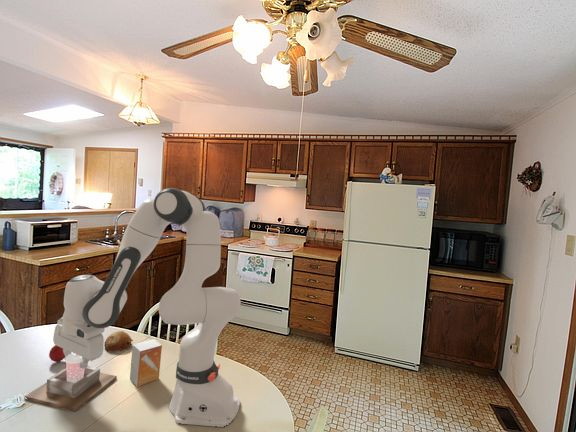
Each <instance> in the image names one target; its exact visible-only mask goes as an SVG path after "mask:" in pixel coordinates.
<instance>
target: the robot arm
mask: <svg viewBox="0 0 576 432" xmlns="http://www.w3.org/2000/svg"><path fill="white" fill-rule="evenodd" d="M170 224H175V225H178V226H183V227H184V228H185V232H186V242H185V243H186V245H185V258H184V264H183V265H184V266H183V270H182V273H181V275H180V277H179V278H178V280H177V282H176V283H175V284H174V285H173V287H171V288H170V289H169V290H168V291H167V292H165V293H164V294H163V295H162V296H161V298H160V300H159V302H158V303H159V304H158V314H159V317H160V319H161V321H163V323H164V324H166V325H174V326H175V325H176V326H186V325H187V326H188V325H196V324H197V325H196V326H195V327H194V328H193V329H191V330H190V331H188V332H186V334H185V335H183V337H182V339H181V340H180V343H179V355H178V361H177V363H176V369H175V370H176V371H175V379H176V381H175V386H174V391H173V394H172V396H171V397H172V398H171V400H170V402H169V411H170V412H171V413H172V415H173V416H174V420H175V422H176V424H179V423H181V425H183V424H184V425H191V426H192V425H194V426H205V427H215V426H217V427H216V428H224V426H225V427H227V426H229V425H230V424H231V423H232V422H233V421H232V420H233V419H236V417H237V415H238V413H239V411H238V410H240V407H239V406H240V403H241V402H240V398H239V397H238V396H236V395H234V388H233V386H232V384H231V383H229V381H228V380H226V379H225V377H224V376H222V375H221V374H220V373H219V370H220V369H221V363H219V364H218V365H216V362H215V353H216V347H217V346H216V345H217V341H218V338H219V336H220V334H221V333H222V330H223V329H224V328H225V327H226V325H227V324H228V323H229V322H230V321H231V320H232V319H233V318H235V317H236V316H237V315H238V313H239V311H240V309H241V304H242V303H241V301H242V300H241V296H240V294H239V293H238V292H237V290H236V289H234V288H231V287H225V286H211V287H208V286H207V287H202V286H203V284H204V281H205V280H206V279H208V278H210V277H211V276H213V275H214V274H216V273H217V272H218V271H219V269H220V267H221V259H222V258H221V254H222V253H221V250H222V235H221V232H222V231H221V225H220V220H219V217H218V215H216V214H215V213H214V212H212V211H208V210H207V209H206V205H205V203H204V202H203V201H202V200H201V199H200V198H199V197H198V196H195V195H193V194H191V193H190V192H189V191H186V190H181V189H179V188H174V187H171V188H170V187H169V188H164V189H162V190H161V191H159V192H158V193H157V194H156V195H155V197H154V198H153V199H152V198H150V199H145V200H143V202H142V203H141V204H140V205H139V206H138V208H137V209H136V210H135V212H134V213H133V215H132V216H131V219H130V220H129V222H128V224H127V226H126V228H125V231H124V233H123V236H122V238H121V242H120V244H119V249H118V251H117V255H116V258H115V260H114V263H113V265H112V266H111V269H110V272H108V275H107V277H106V279H105V281H103V280H101V279H100V278H98V277H96V276H95V275H93V274H82V275H81V274H80V275H77V276H75V277H73V278H71V279H70V280H69V281H67V283H66V285H65V290H64V293H63V294H64V295H63V307H64V312H63V314H62V317H60V318H59V319H58V320H57V324H56V326H55V327H54V332H53V339H52V341H53V343H54V346H55V345H57V346H59V347H61V348H63V352H64V355H65V358H64V360H65V359H66V357H67V356H68V355H69V354H72V353H75V354H77V355H79V356H81V357H82V359H83V361H82V362H81V363H80V368H82V369H84V368H86V367H87V366H89V365H88V364H89V361H90V362H93V361H95V360H97V359H100V358H101V357H102V355H103V353H104V344H105V341H104V339H105V338H104V336H103V335H104V334H103V333H104V332H105V330H106V329H105V328H108V327H111V326H112V325H114V324H115V323H116V322H117V321H118V319H119V316H120V314H121V311H122V310H123V308H124V306H125V304H126V303H127V300H128V293H127V289H126V288H127V287H128V284H129V283H130V281H131V278H132V277H133V275H134V273H135V272H136V271H137V269H138V268H139V266H140V265H141V264H142V263H143V262H144V261H145V260H146V259H147V258H148V257H149V255H150V254H151V253H152V252H153V250H154V249H155V248H156V247H157V245H158V243H159V241H160V240H161V237H162V235H163V234H164V231H165V229H166V227H167V226H168V225H170ZM65 362H66V360H65ZM231 421H232V422H231ZM229 423H230V424H229ZM226 425H227V426H226Z"/></svg>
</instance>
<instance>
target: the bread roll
mask: <svg viewBox="0 0 576 432" xmlns="http://www.w3.org/2000/svg"><path fill="white" fill-rule="evenodd" d="M132 342H134V341H133V339H132V337H131V336H130V335H129V333H127V332H125V331H123V330H118V331H115V332H112V333H111V334H109V335H108V337H107V338H106V339H105V341H104V344H103V347H104V349H105V350H106V351H108V352H121V351H125V350H128V349H129V348H130V347H131V346H133V344H132Z"/></svg>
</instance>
